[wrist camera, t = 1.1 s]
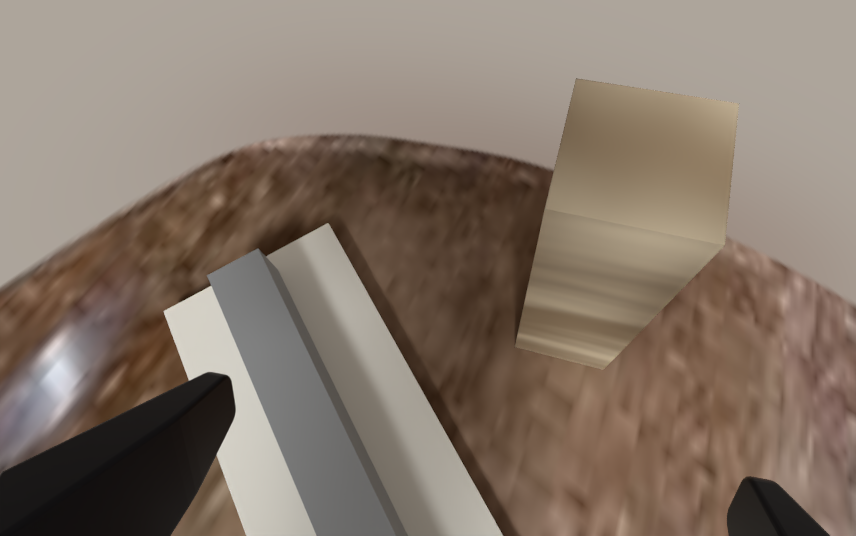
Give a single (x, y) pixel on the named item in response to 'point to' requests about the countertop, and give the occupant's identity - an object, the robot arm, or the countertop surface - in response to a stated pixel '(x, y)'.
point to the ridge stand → (322, 403)
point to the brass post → (626, 217)
